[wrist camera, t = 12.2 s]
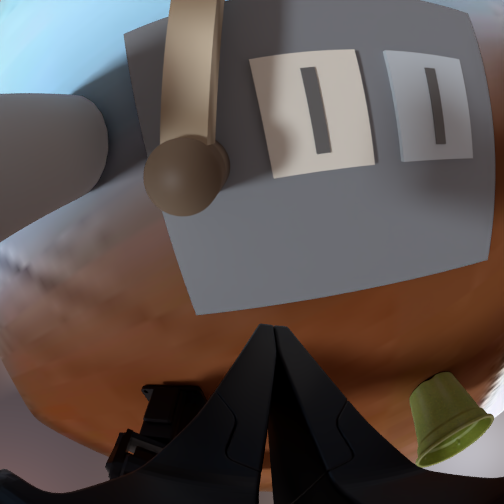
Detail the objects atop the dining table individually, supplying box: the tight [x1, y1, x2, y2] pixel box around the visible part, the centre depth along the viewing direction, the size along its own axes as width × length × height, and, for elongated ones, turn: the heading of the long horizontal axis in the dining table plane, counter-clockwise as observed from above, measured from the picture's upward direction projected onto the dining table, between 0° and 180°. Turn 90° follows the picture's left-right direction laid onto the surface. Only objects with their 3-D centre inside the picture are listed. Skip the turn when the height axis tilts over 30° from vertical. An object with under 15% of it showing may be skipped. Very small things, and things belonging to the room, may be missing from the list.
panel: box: [124, 0, 495, 315], centre depth 15 cm, size 20×24×1 cm
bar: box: [144, 0, 230, 217], centre depth 10 cm, size 20×4×4 cm, turn 177°
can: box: [0, 93, 108, 242], centre depth 10 cm, size 8×8×12 cm
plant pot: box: [410, 372, 494, 468], centre depth 21 cm, size 9×9×9 cm
